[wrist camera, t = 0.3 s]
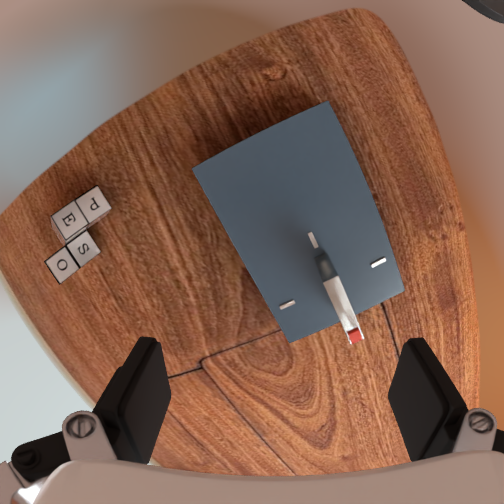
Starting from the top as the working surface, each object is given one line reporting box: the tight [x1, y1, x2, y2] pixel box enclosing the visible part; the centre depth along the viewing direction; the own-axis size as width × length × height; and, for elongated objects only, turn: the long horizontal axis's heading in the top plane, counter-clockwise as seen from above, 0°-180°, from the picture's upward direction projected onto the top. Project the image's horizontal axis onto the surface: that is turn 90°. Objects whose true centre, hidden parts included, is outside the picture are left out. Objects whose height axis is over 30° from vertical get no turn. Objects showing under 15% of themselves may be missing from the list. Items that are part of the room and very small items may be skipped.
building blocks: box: [44, 185, 112, 285], centre depth 27 cm, size 5×5×8 cm
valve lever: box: [314, 252, 364, 344], centre depth 24 cm, size 6×1×5 cm, turn 28°
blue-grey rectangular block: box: [192, 101, 405, 343], centre depth 27 cm, size 19×12×3 cm, turn 28°
